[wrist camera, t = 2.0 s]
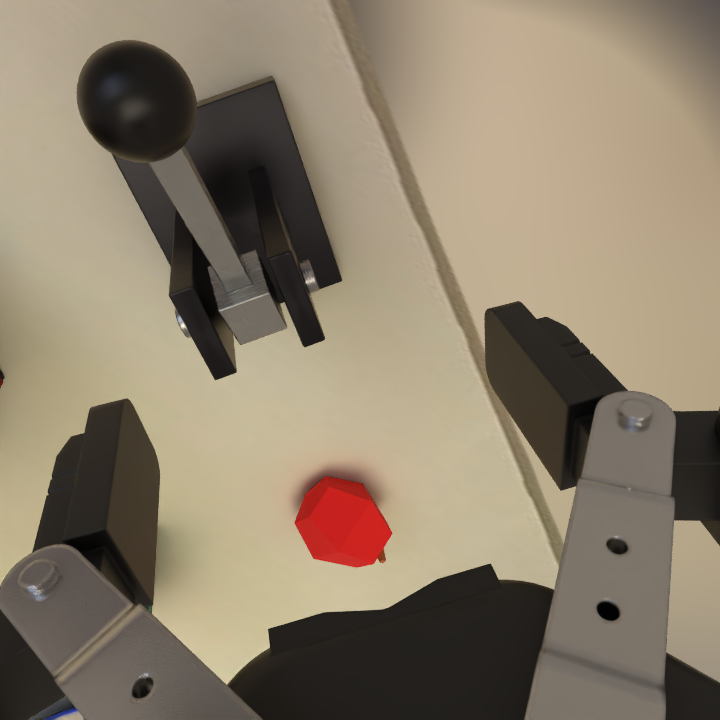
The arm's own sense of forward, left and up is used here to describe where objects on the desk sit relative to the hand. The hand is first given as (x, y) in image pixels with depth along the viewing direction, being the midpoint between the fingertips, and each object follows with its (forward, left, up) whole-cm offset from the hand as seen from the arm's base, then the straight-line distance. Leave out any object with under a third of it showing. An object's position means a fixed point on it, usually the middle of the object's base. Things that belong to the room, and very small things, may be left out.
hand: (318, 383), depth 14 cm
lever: (+2, -2, -12) cm, 12 cm away
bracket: (+3, +3, -24) cm, 24 cm away
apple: (+13, +26, -24) cm, 38 cm away
